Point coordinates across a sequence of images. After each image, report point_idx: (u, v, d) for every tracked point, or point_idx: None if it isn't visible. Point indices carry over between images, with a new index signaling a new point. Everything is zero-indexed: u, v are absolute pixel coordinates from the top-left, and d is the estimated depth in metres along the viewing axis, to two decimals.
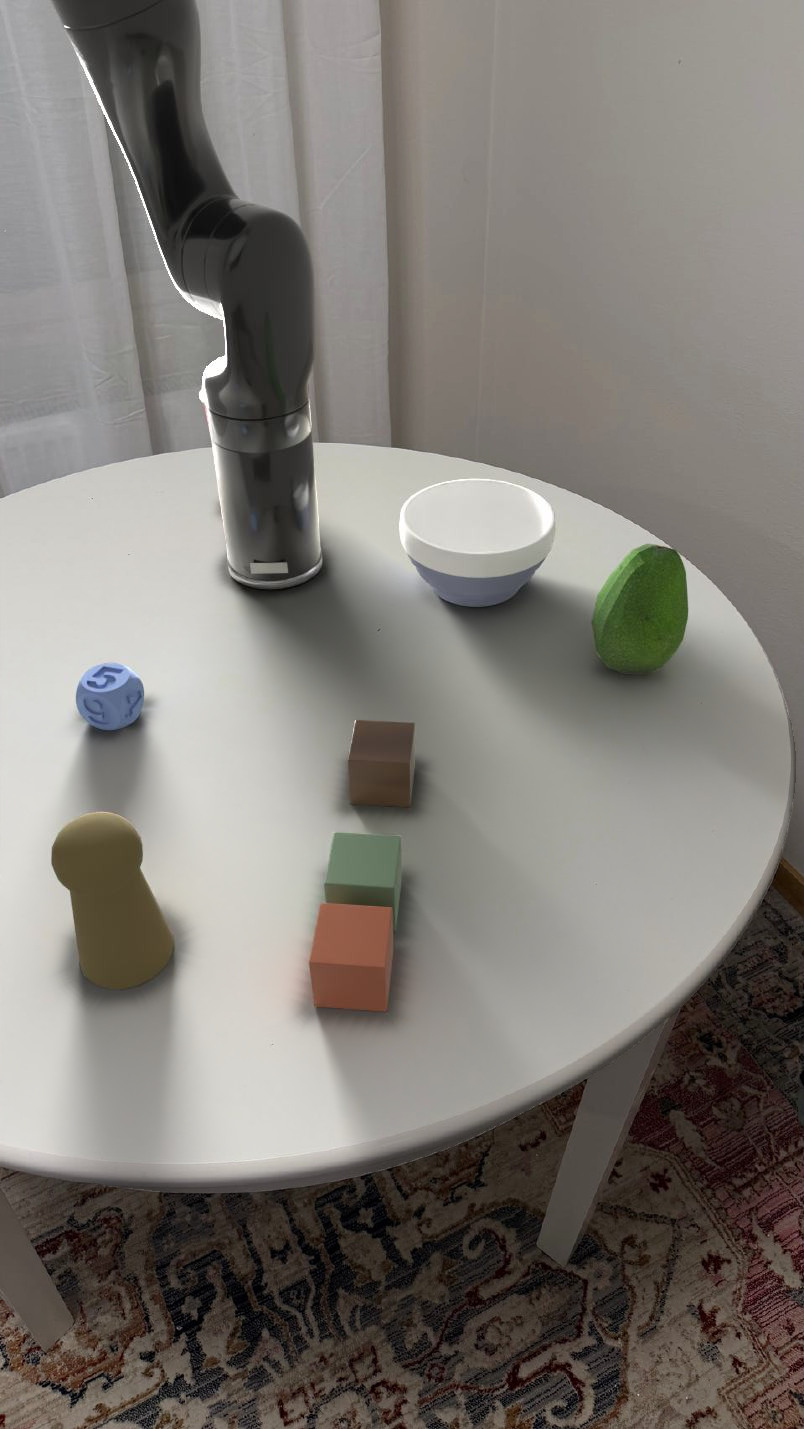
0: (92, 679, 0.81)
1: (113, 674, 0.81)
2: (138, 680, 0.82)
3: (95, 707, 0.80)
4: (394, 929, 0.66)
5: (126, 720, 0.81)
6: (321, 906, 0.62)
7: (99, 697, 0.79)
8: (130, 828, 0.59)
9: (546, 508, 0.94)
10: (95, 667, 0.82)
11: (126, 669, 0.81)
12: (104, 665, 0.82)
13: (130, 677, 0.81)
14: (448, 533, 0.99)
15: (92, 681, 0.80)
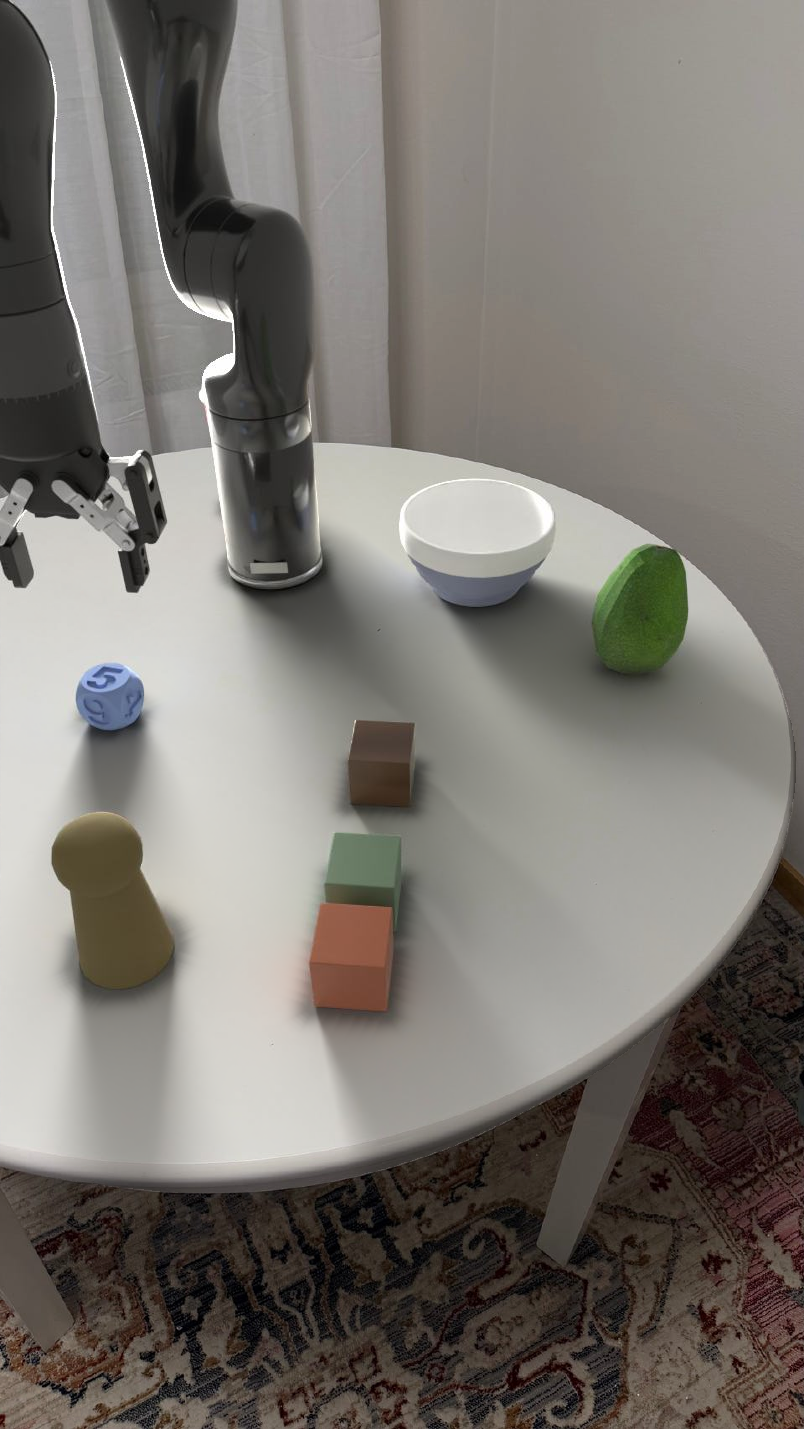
0: (92, 679, 0.81)
1: (113, 674, 0.81)
2: (138, 680, 0.82)
3: (95, 707, 0.80)
4: (394, 929, 0.66)
5: (126, 720, 0.81)
6: (321, 906, 0.62)
7: (99, 697, 0.79)
8: (130, 828, 0.59)
9: (546, 508, 0.94)
10: (95, 667, 0.82)
11: (126, 669, 0.81)
12: (104, 665, 0.82)
13: (130, 677, 0.81)
14: (448, 533, 0.99)
15: (92, 681, 0.80)
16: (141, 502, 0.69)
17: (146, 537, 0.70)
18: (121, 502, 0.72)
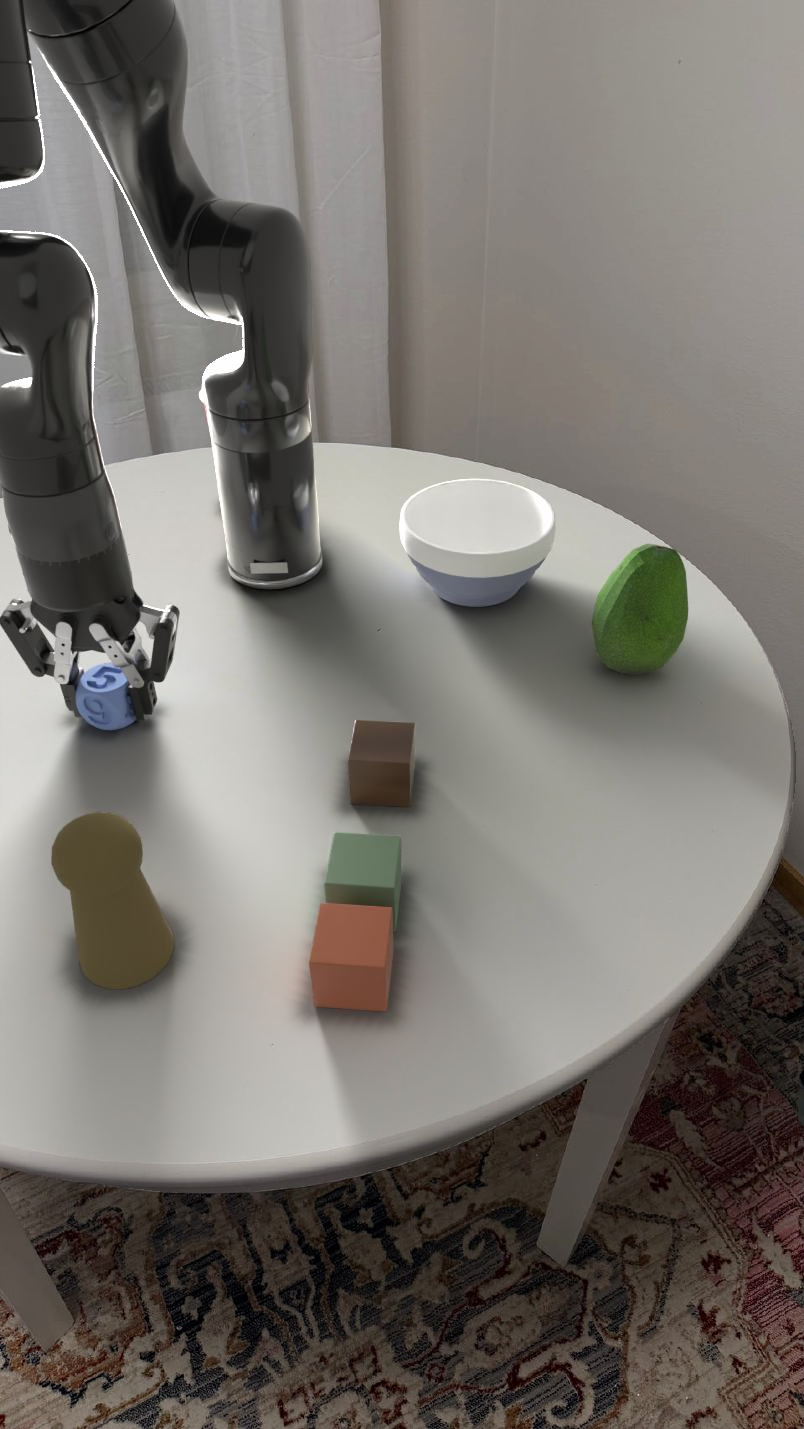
0: (92, 679, 0.81)
1: (113, 674, 0.81)
2: None
3: (95, 707, 0.80)
4: (394, 929, 0.66)
5: (126, 720, 0.81)
6: (321, 906, 0.62)
7: (99, 697, 0.79)
8: (130, 828, 0.59)
9: (546, 508, 0.94)
10: (95, 667, 0.82)
11: None
12: (104, 665, 0.82)
13: None
14: (448, 533, 0.99)
15: (92, 681, 0.80)
16: (161, 650, 0.77)
17: (154, 676, 0.78)
18: (139, 643, 0.80)
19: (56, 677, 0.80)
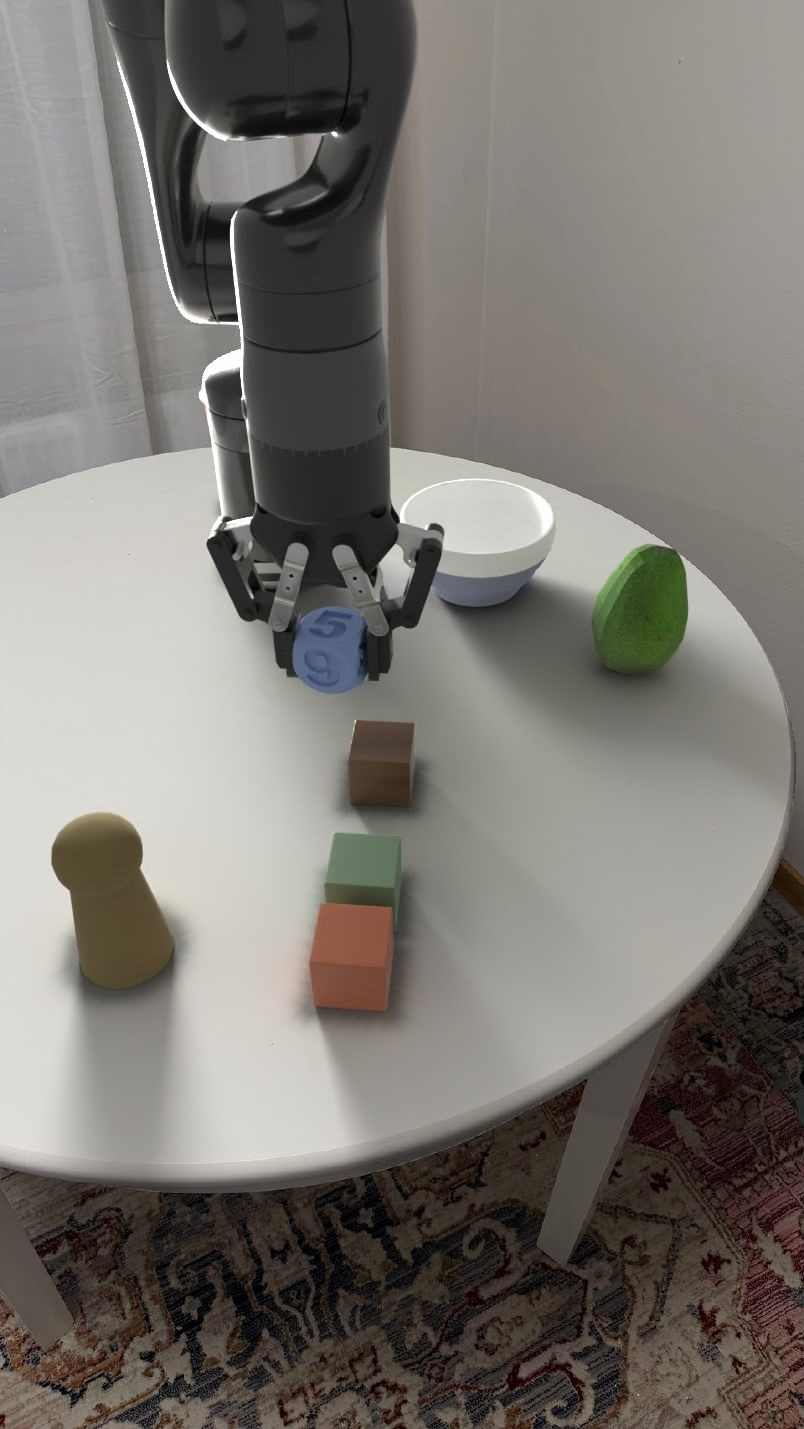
0: (315, 626, 0.61)
1: (341, 620, 0.62)
2: None
3: (320, 663, 0.61)
4: (394, 929, 0.66)
5: (358, 680, 0.62)
6: (321, 906, 0.62)
7: (328, 649, 0.60)
8: (130, 828, 0.59)
9: (546, 508, 0.94)
10: (315, 611, 0.62)
11: (356, 614, 0.62)
12: (326, 609, 0.63)
13: (364, 624, 0.61)
14: (448, 533, 0.99)
15: (315, 629, 0.61)
16: (421, 584, 0.58)
17: (405, 620, 0.59)
18: (381, 577, 0.60)
19: (271, 622, 0.60)
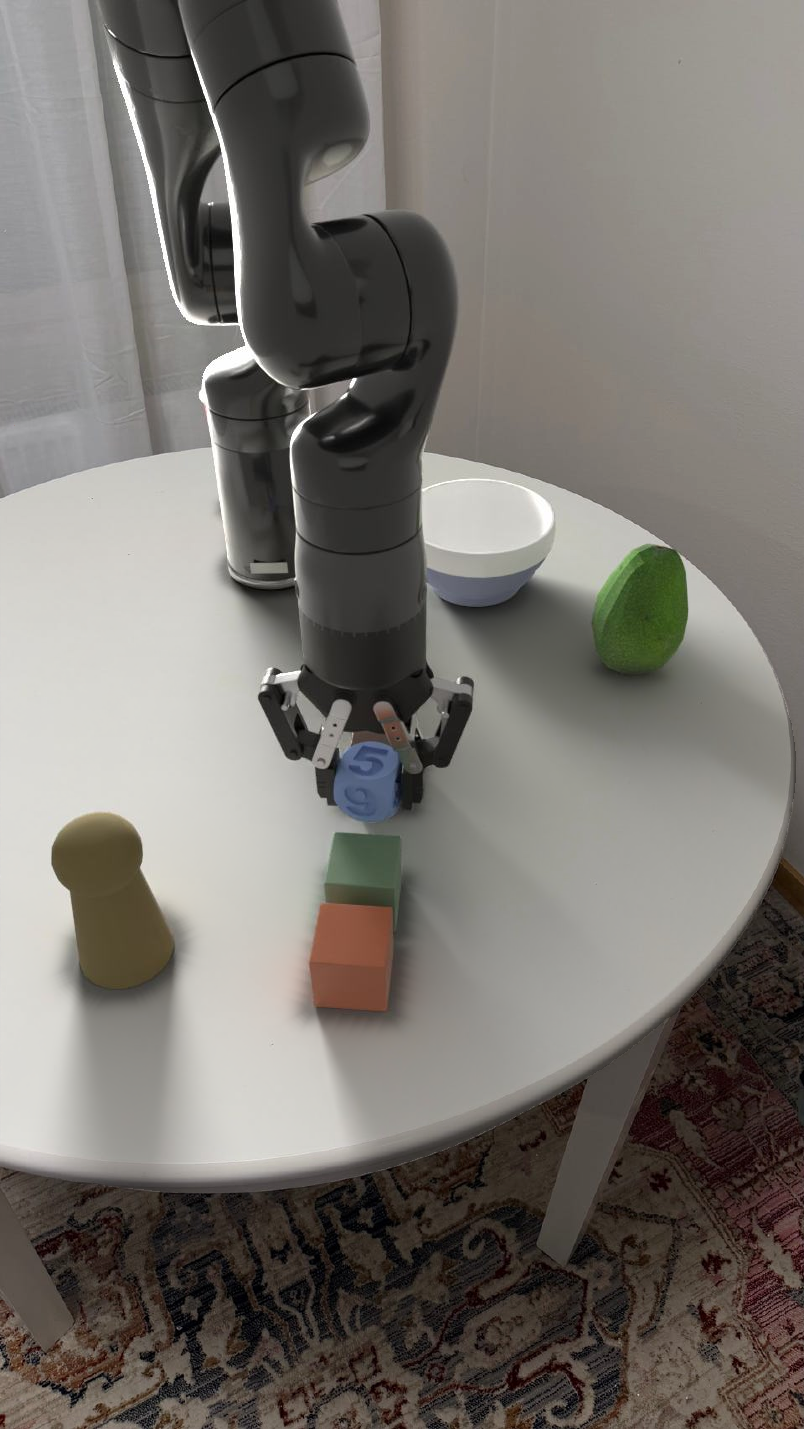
0: (354, 763, 0.67)
1: (378, 756, 0.67)
2: None
3: (359, 797, 0.67)
4: (394, 929, 0.66)
5: (393, 811, 0.67)
6: (321, 906, 0.62)
7: (367, 786, 0.66)
8: (130, 828, 0.59)
9: (546, 508, 0.94)
10: (353, 747, 0.68)
11: (391, 750, 0.68)
12: (363, 744, 0.68)
13: (399, 760, 0.67)
14: (448, 533, 0.99)
15: (355, 765, 0.67)
16: (453, 732, 0.63)
17: (438, 761, 0.65)
18: (415, 719, 0.66)
19: (315, 761, 0.66)
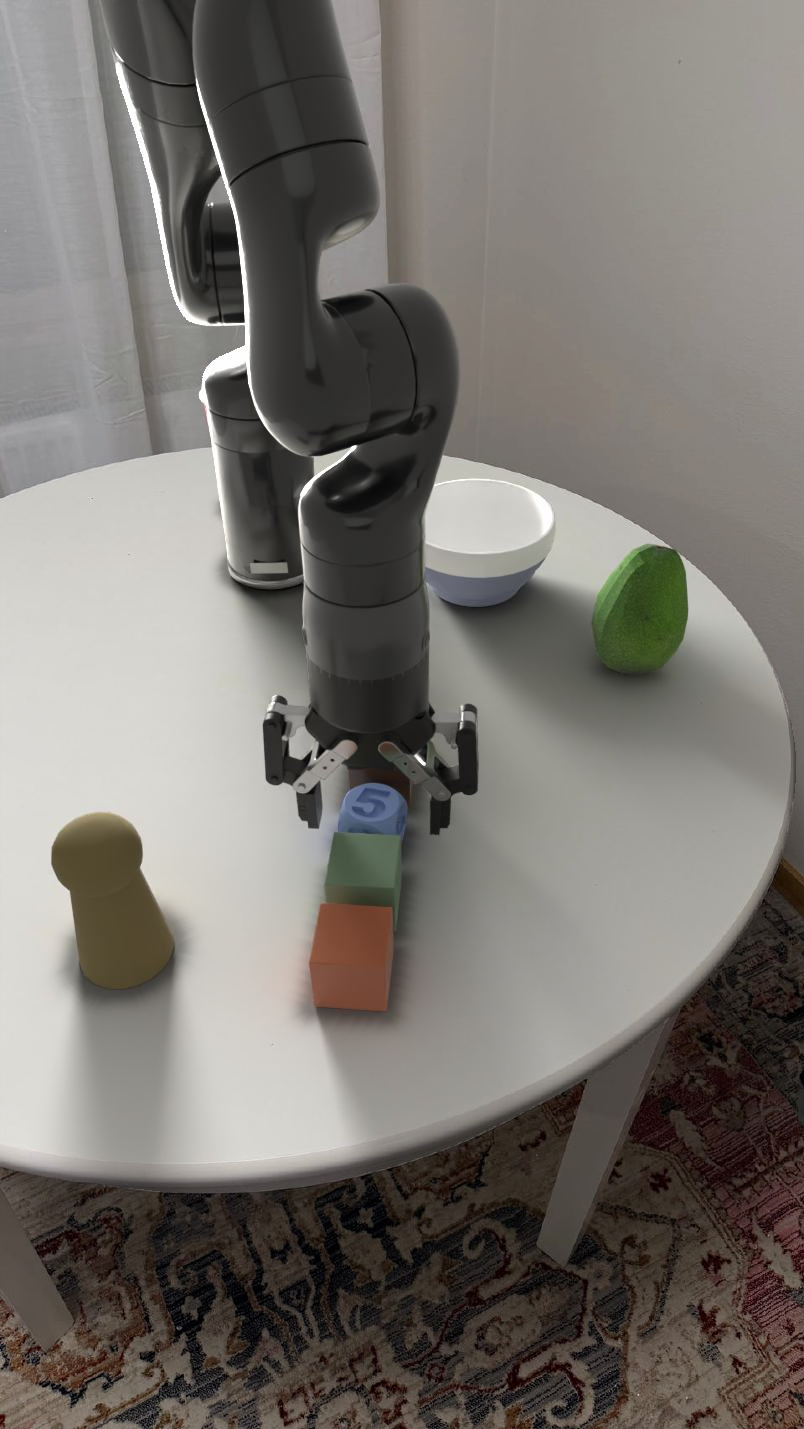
0: (357, 804, 0.69)
1: (380, 798, 0.70)
2: (405, 803, 0.71)
3: None
4: (394, 929, 0.66)
5: None
6: (321, 906, 0.62)
7: (370, 827, 0.68)
8: (130, 828, 0.59)
9: (546, 508, 0.94)
10: (356, 788, 0.71)
11: (393, 791, 0.70)
12: (366, 786, 0.71)
13: (400, 802, 0.70)
14: (448, 533, 0.99)
15: (358, 807, 0.69)
16: (468, 759, 0.65)
17: (466, 790, 0.66)
18: (433, 748, 0.68)
19: (295, 786, 0.68)
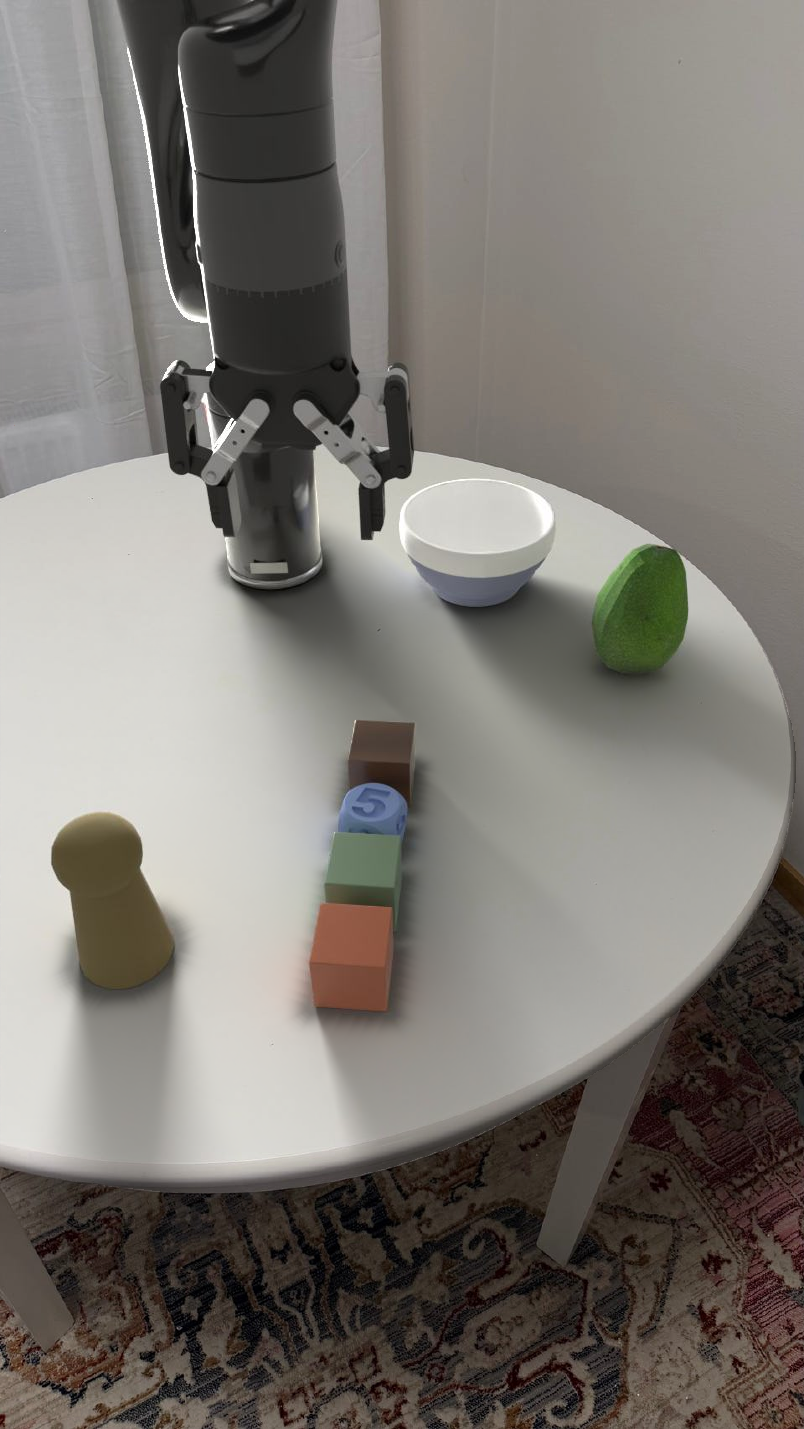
0: (357, 804, 0.69)
1: (380, 798, 0.70)
2: (405, 803, 0.71)
3: None
4: (394, 929, 0.66)
5: None
6: (321, 906, 0.62)
7: (370, 827, 0.68)
8: (130, 828, 0.59)
9: (546, 508, 0.94)
10: (356, 788, 0.71)
11: (393, 791, 0.70)
12: (366, 786, 0.71)
13: (400, 802, 0.70)
14: (448, 533, 0.99)
15: (358, 807, 0.69)
16: (398, 426, 0.56)
17: (398, 470, 0.58)
18: (361, 430, 0.59)
19: (204, 475, 0.59)
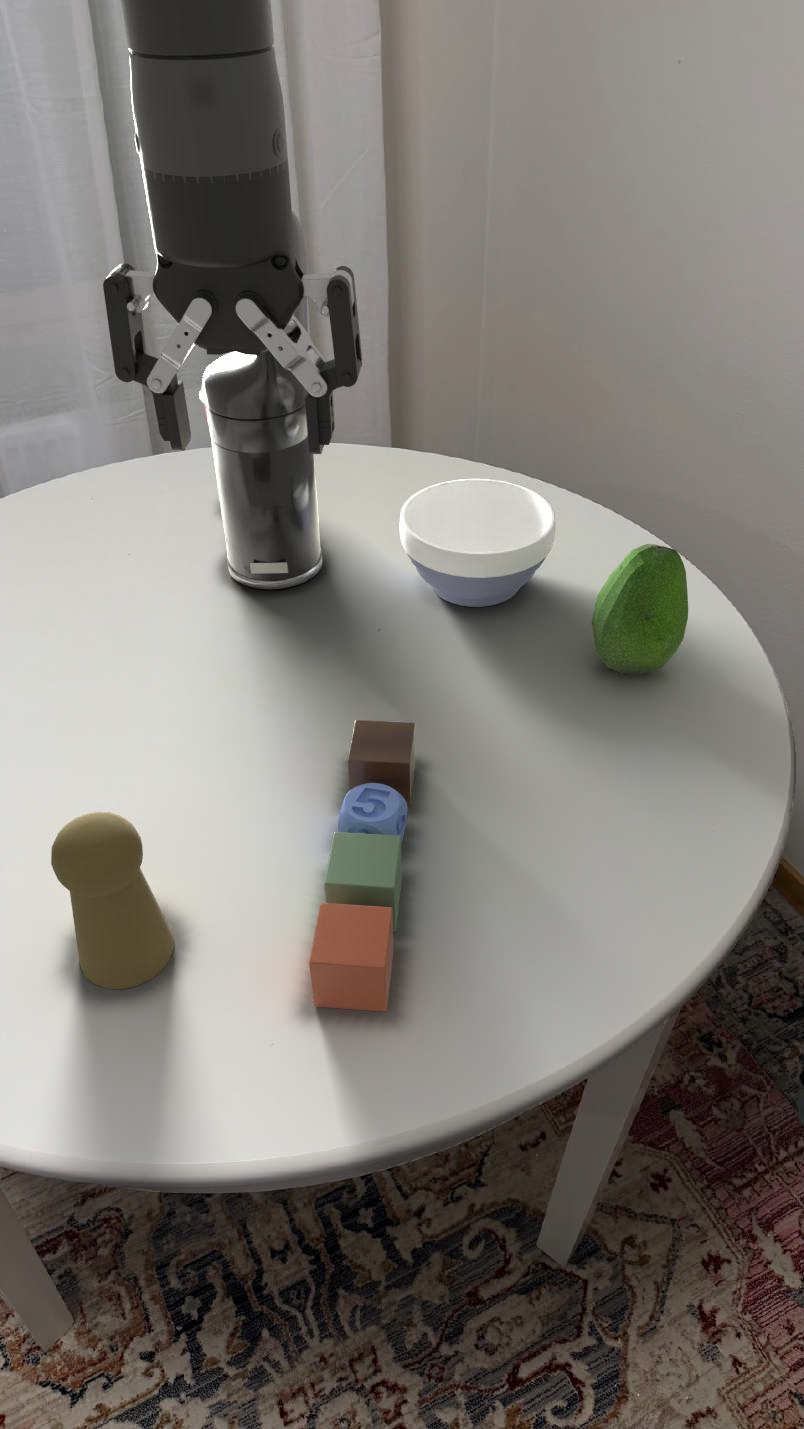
0: (357, 804, 0.69)
1: (380, 798, 0.70)
2: (405, 803, 0.71)
3: None
4: (394, 929, 0.66)
5: None
6: (321, 906, 0.62)
7: (370, 827, 0.68)
8: (130, 828, 0.59)
9: (546, 508, 0.94)
10: (356, 788, 0.71)
11: (393, 791, 0.70)
12: (366, 786, 0.71)
13: (400, 802, 0.70)
14: (448, 533, 0.99)
15: (358, 807, 0.69)
16: (342, 330, 0.56)
17: (343, 377, 0.57)
18: (309, 339, 0.59)
19: (150, 382, 0.59)
